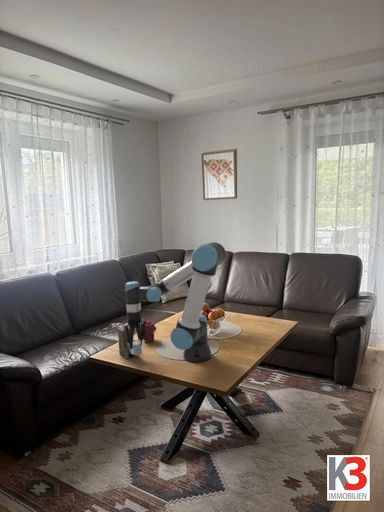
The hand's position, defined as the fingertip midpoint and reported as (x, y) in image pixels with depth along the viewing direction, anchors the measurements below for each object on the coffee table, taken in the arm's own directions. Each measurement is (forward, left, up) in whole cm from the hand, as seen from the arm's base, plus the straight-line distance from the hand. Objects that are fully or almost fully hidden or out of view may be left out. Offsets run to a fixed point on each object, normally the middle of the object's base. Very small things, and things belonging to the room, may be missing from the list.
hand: (136, 352), depth 198 cm
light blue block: (+2, 0, 0) cm, 2 cm away
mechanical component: (+18, -21, -4) cm, 28 cm away
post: (+8, 0, -3) cm, 9 cm away
